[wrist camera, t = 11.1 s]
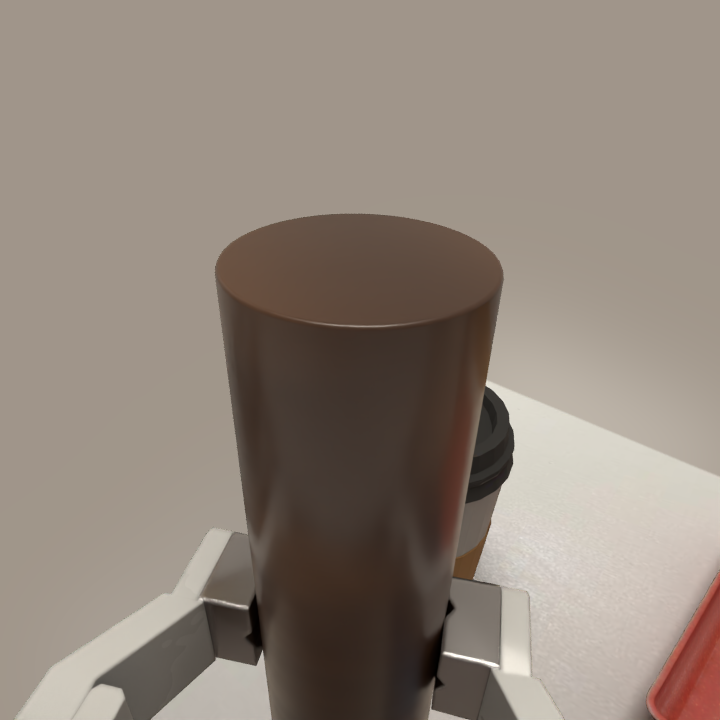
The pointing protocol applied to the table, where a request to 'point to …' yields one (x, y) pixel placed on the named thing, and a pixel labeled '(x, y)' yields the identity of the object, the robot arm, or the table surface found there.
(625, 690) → the table surface
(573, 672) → the table surface
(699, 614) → the plant saucer
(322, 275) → the brown cylinder
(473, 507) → the coffee cup
